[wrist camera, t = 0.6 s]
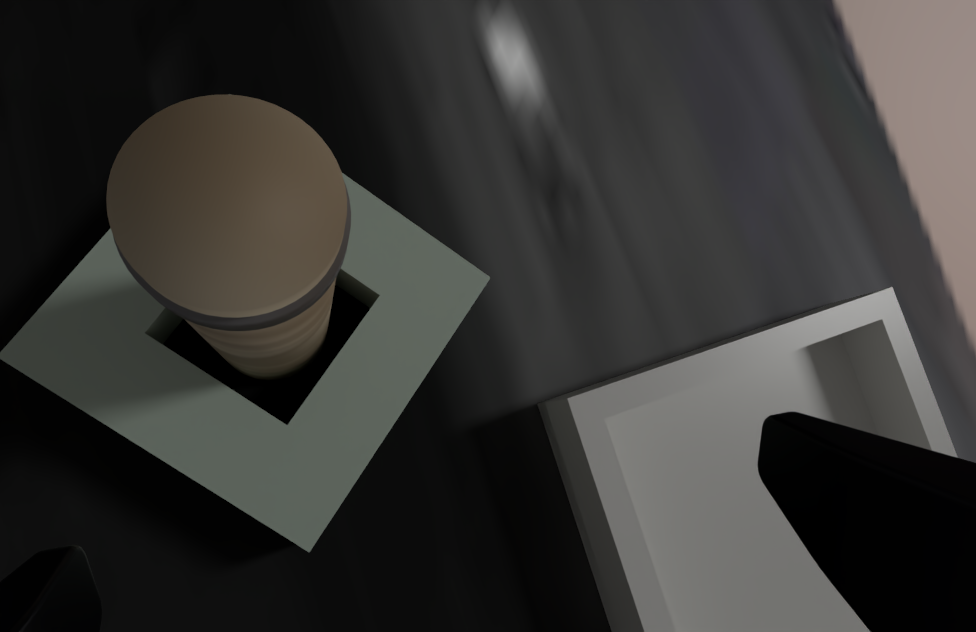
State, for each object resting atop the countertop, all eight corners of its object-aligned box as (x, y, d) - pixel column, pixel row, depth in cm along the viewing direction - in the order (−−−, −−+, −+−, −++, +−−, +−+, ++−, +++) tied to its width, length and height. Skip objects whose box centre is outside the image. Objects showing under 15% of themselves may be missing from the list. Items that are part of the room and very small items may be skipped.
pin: (285, 405, 22) (259, 365, 10) (186, 341, 22) (41, 221, 10) (352, 313, 23) (397, 181, 12) (258, 249, 23) (205, 45, 11)
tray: (957, 630, 27) (1032, 652, 24) (665, 795, 23) (714, 845, 20) (833, 302, 29) (892, 287, 26) (537, 403, 25) (567, 398, 22)
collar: (309, 540, 22) (309, 552, 19) (32, 366, 21) (-4, 356, 18) (473, 293, 25) (490, 277, 22) (237, 128, 24) (229, 93, 21)
